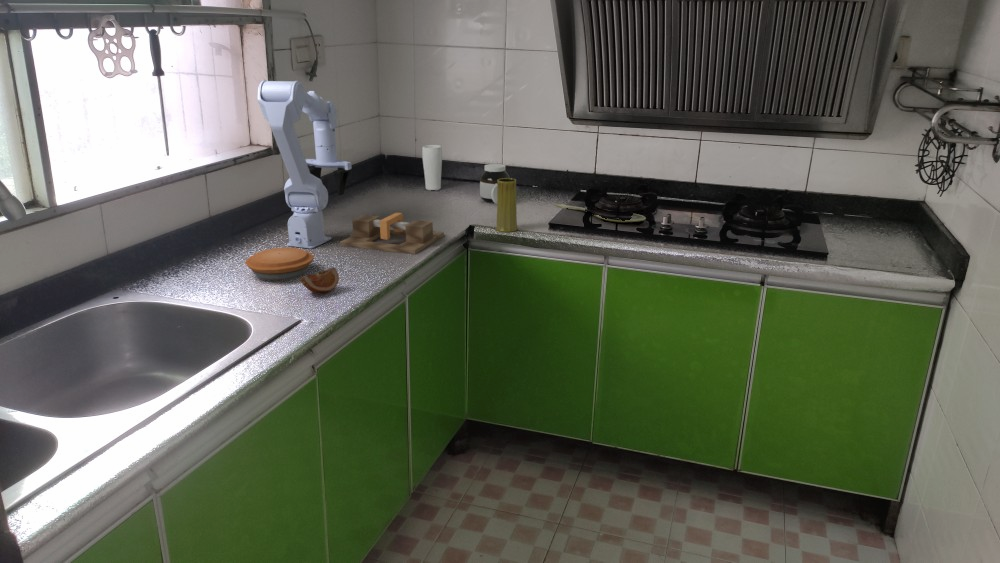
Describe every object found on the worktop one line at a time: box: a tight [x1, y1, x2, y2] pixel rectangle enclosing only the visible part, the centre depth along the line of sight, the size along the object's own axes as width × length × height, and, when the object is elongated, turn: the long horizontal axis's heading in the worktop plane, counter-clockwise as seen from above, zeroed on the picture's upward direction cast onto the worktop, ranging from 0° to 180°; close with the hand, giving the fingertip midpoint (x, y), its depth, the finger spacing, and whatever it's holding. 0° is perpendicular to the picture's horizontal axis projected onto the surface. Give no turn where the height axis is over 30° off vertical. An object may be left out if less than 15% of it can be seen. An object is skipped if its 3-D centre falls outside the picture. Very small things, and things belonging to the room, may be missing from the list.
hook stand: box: [339, 214, 445, 255], centre depth 199 cm, size 22×18×6 cm
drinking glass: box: [421, 144, 443, 191], centre depth 257 cm, size 7×7×15 cm
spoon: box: [555, 203, 647, 223], centre depth 225 cm, size 35×11×2 cm, turn 41°
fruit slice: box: [300, 267, 340, 295], centre depth 162 cm, size 8×7×5 cm
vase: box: [495, 177, 518, 233], centre depth 208 cm, size 6×6×14 cm
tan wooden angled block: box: [380, 212, 404, 241], centre depth 198 cm, size 9×2×5 cm, turn 159°
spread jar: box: [479, 163, 510, 205], centre depth 239 cm, size 12×11×12 cm
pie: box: [244, 247, 314, 282], centre depth 174 cm, size 15×16×5 cm
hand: (329, 193), depth 209 cm, fingers open, 7 cm apart
